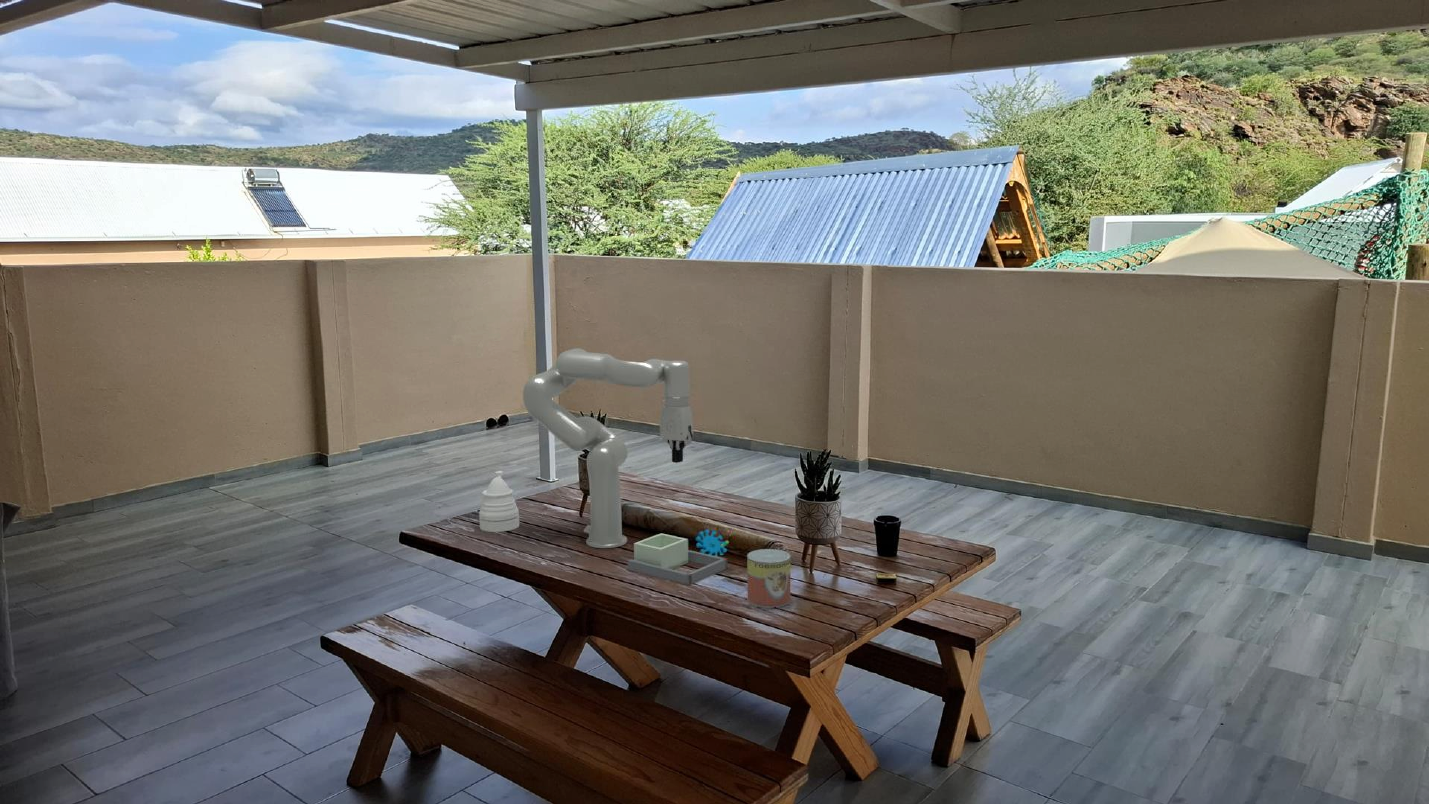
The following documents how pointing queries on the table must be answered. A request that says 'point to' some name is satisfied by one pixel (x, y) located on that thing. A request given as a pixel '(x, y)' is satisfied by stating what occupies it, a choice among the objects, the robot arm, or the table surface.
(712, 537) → the gear
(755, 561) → the canned food
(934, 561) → the table surface
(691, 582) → the bay
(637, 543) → the box
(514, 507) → the honey pot
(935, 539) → the table surface
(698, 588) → the table surface
